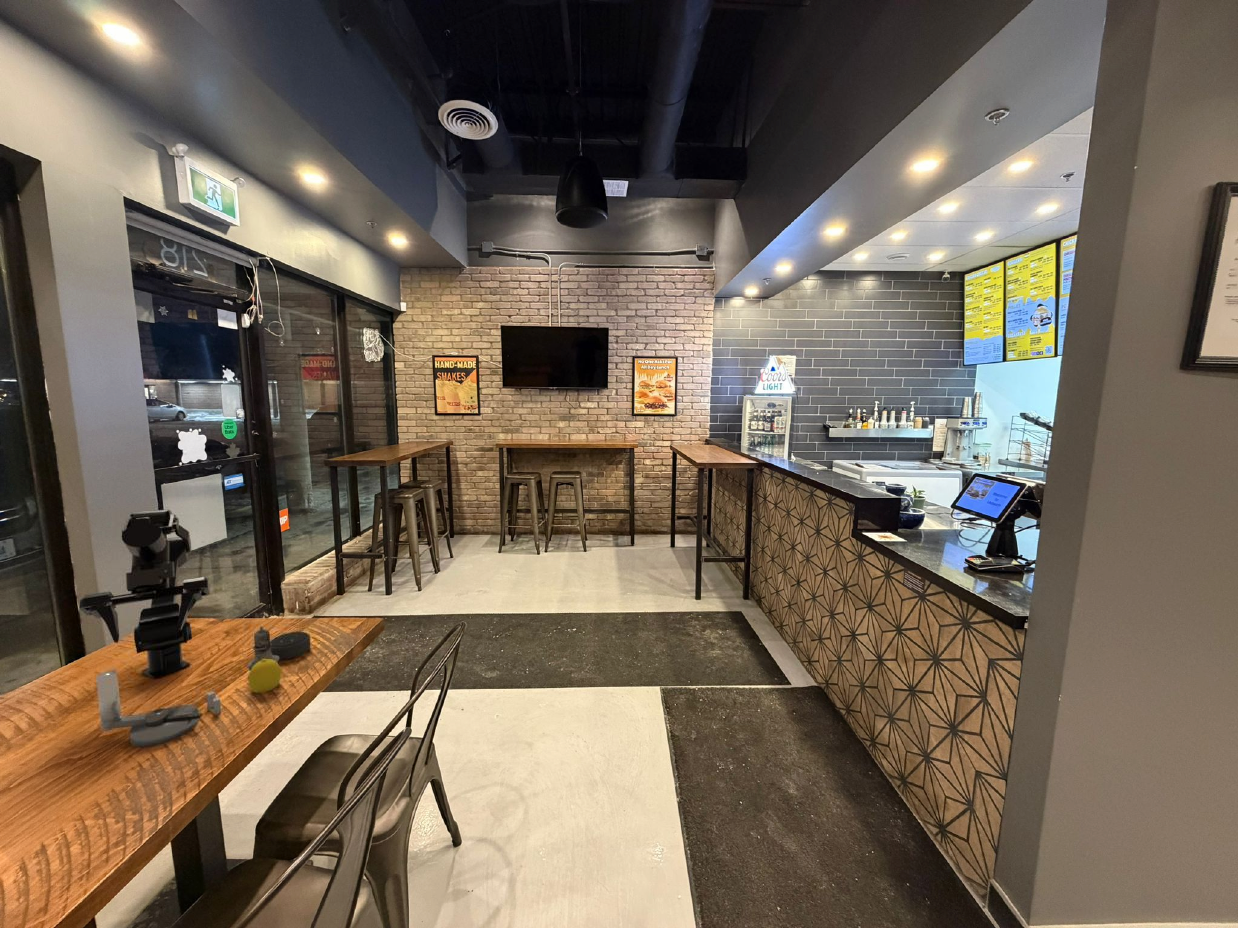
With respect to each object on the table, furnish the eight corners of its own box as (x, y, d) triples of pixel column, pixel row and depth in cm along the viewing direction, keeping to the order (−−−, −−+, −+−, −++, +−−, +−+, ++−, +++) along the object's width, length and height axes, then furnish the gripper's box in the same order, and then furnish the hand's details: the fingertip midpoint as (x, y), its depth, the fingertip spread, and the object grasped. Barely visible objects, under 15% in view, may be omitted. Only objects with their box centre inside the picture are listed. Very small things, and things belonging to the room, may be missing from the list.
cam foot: (99, 738, 82) (93, 675, 81) (175, 705, 92) (170, 648, 91) (134, 760, 77) (128, 693, 76) (210, 723, 87) (206, 663, 86)
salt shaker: (262, 684, 102) (259, 633, 101) (241, 681, 103) (237, 630, 102) (286, 670, 108) (283, 622, 107) (266, 667, 109) (263, 619, 108)
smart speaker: (261, 656, 115) (260, 640, 114) (300, 641, 122) (300, 627, 122) (277, 666, 110) (276, 650, 110) (317, 650, 117) (316, 635, 117)
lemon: (261, 687, 101) (259, 652, 100) (287, 686, 101) (285, 652, 101) (243, 702, 96) (240, 666, 95) (271, 701, 96) (268, 665, 95)
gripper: (74, 559, 88) (66, 640, 82) (204, 543, 99) (205, 614, 94) (90, 577, 95) (84, 652, 90) (209, 560, 107) (211, 626, 102)
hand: (149, 635), depth 94 cm, fingers open, 9 cm apart
